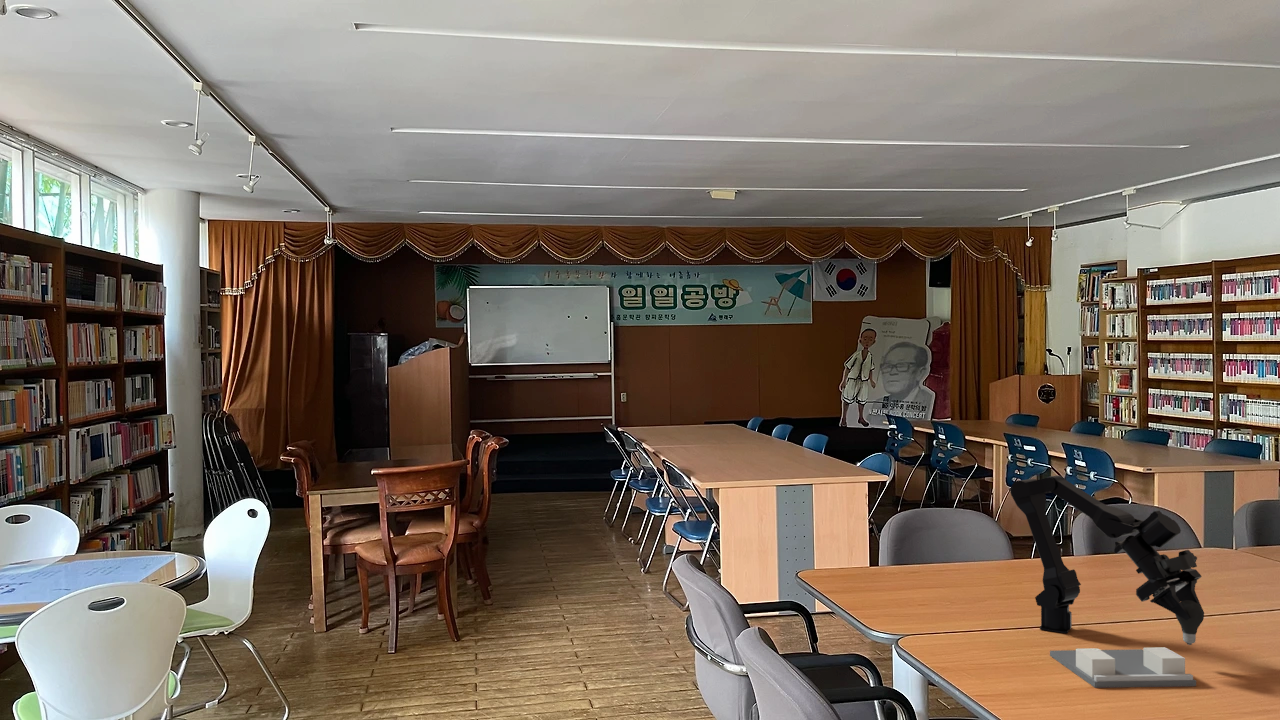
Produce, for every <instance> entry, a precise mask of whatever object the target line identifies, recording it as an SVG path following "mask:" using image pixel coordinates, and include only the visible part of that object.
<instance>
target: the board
mask: <svg viewBox="0 0 1280 720" xmlns="http://www.w3.org/2000/svg"><path fill="white" fill-rule="evenodd" d="M1049 656H1050V657H1051V658H1052V659H1054V660H1055V661H1057V662H1059V664H1061V665H1062V666H1064V667H1065V668H1066V669H1067V670H1069V671H1071V673H1074V674H1075V675H1077V676H1078V677H1079V678H1081V679H1082V680H1083V681H1085V682H1086V683H1088V684H1089V685H1090V684H1091V685H1090V686H1092V687H1093V688H1095V689H1097V688H1099V689H1100V688H1150V687H1151V688H1152V687H1153V688H1154V687H1155V688H1158V687H1159V688H1161V687H1162V688H1163V687H1164V688H1165V687H1166V688H1167V687H1197V680H1196V679H1194V675H1193V674H1191V673H1186V658H1185V657H1184V656H1182V655H1180V654H1178V652H1174V651H1173V650H1170V648H1167V647H1164V646H1163V647H1143V648H1141V649H1136V648H1135V649H1133V648H1132V649H1131V648H1130V649H1099V648H1098V647H1097V648H1094V647H1092V648H1090V647H1089V648H1075V650H1073V649H1071V650H1068V649H1067V650H1065V649H1062V650H1059V649H1058V650H1049Z"/></svg>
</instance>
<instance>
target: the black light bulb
mask: <svg viewBox="0 0 1280 720" xmlns="http://www.w3.org/2000/svg"><path fill="white" fill-rule="evenodd" d="M1181 603H1182V605H1183V606H1184V608H1185V609H1186V611H1187V612H1188V614H1189V615H1190V617H1191V618H1190V619H1189V620H1185V619H1183V618H1182V617H1180V616H1178V615H1176V614H1175V617H1176V620H1177V621H1178V623H1179V625H1180V628H1181V632H1182V639H1183V642H1185V644H1187V645H1188V646H1192V645H1193V644H1195V643H1196V642H1197V641H1196V636H1197V635H1196V634H1197V633H1198V629H1199V627H1200V626H1201V624H1202V623H1203V621H1204V618H1205V612H1203V611H1204V609H1203V607H1202V605H1201V606H1200V605H1199V604H1197V603H1196V602H1194V601H1190V600H1185V601H1182V602H1181ZM1201 607H1202V608H1201Z"/></svg>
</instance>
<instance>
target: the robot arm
mask: <svg viewBox="0 0 1280 720" xmlns="http://www.w3.org/2000/svg"><path fill="white" fill-rule="evenodd" d="M1009 490H1010V492H1009V493H1010V495H1011V497H1012V499H1013V501H1014V504H1015V505H1016V507H1017V508H1019V510H1020V511H1021V512H1022V513H1023V514H1024V515H1025V517H1026V520H1027V523H1028V526H1029V529H1030V532H1031V534H1032V538H1033V541H1034V543H1035V546H1036V549H1037V552H1038V555H1039V558H1040V561H1041V563H1042V567H1043V573H1042V586H1043V590H1042V591H1041V592H1040V593H1039V594H1037V595H1036V596H1035V597H1034V598H1035V602H1036V606H1038V607H1040V622H1041V623H1040V627H1039V630H1042V631H1048V632H1054V633H1059V634H1068V633H1069V631H1070V630H1071V629H1072V625H1073V623H1072V618H1073V617H1072V615H1073V614H1072V613H1073V612H1072V611H1070V605H1074V602H1075V599H1077V597H1079V595H1080V593H1081V588H1080V586H1081V585H1082V583H1081V582H1080V581H1079V579H1078V575H1077V572H1076V570H1075V568H1074V569H1069V568H1068V567H1067V566H1066V565H1065V564H1064V561H1063V559H1062V556H1061V553H1060V550H1059V547H1058V545H1057V542H1056V539H1055V536H1054V533H1053V530H1052V527H1051V525H1050V522H1049V521H1050V520H1049V519H1048V515H1047V513H1046V504H1047V503H1046V502H1047V496H1046V494H1051V493H1053V494H1054V495H1055V496H1057V497H1059V498H1060V499H1061V500H1063V501H1064V502H1066V503H1068V504H1069V505H1070V506H1072V507H1073V508H1075V509H1076V510H1078V511H1079V512H1081V513H1083V514H1084V515H1085V516H1087V517H1088V518H1090V519H1091V520H1092V522H1093V524H1094V525H1095V527H1096V528H1097V529H1099V531H1101V532H1102V533H1103V535H1105V536H1106V537H1109V538H1111V539H1117V538H1121V537H1126V538H1124V539H1123V540H1117V541H1114V544H1115V546H1114V551H1113V553H1114V554H1119V553H1124V552H1125V554H1126V555H1127V556H1128V558H1130V559H1131V562H1133V563H1134V564H1135V566H1136V567H1137V568H1136V570H1135V571H1136V573H1137V574H1138V575H1139V574H1142V575H1144V577H1145V578H1146V579H1147V581H1145V582H1144V583H1143V584H1141V585H1139V586H1138V587H1137V588H1136V589H1135V595H1136V597H1137V598H1138V599H1139V601H1141V603H1142V602H1146V601H1148V600H1149V602H1150V603H1153V604H1155V605H1158V606H1160V607H1162V608H1163V609H1165V610H1168V611H1169V612H1171V613H1173V614H1176V615H1178V616H1180V617H1182V618H1183V619H1185V620H1189V619H1190V618H1191V617H1190V615H1189V614H1188V612H1187V611H1186V609H1185V608H1184V606H1183V605H1182V603H1181V602H1182V601H1185V600H1190V601H1194V602H1196V603H1197V604H1199V605H1200V606H1201V608H1202V609H1203V607H1202V604H1201V603H1200V600H1199V597H1198V596H1197V593H1196V592H1197V591H1196V584H1197V583H1198V580H1199V579H1201V578H1202V575H1201V574H1200V572H1198V570H1197V569H1194V568H1197V567H1198V565H1197V563H1196V562H1197V560H1198V556H1196V555H1194V553H1193V552H1191V551H1190V550H1189V549H1186V550H1182V551H1179V552H1178V556H1174V557H1170V558H1169V556H1168V555H1167V554H1164V553H1163V554H1160V553H1159V552H1158V551H1157V550H1156V548H1163V547H1164V546H1166V545H1167V544H1168V543H1169V542H1171V540H1173V539H1174V538H1176V537H1177V536H1178V535H1179V534H1181V531H1182V530H1181V528H1180V526H1179V524H1178V523H1177V522H1176V520H1174V519H1172V518H1171V517H1170V516H1168V515H1167V514H1164V513H1162V512H1161V511H1160V510H1153V512H1152V513H1150V515H1149V516H1148V517H1147V518H1145V519H1144V520H1141V519H1137V518H1135V517H1134V516H1133V515H1132V514H1131V513H1130V512H1127V511H1125V510H1122V509H1121V508H1118V507H1115V506H1111V505H1107V504H1105V503H1103V502H1101V501H1099V500H1098V499H1096V498H1094V496H1092V495H1090V494H1089V493H1087V492H1085V491H1083V490H1082V489H1081V488H1079V487H1077V486H1076V485H1074V484H1073V483H1071V482H1070V481H1068V480H1067V479H1066V478H1065V477H1064V476H1062V475H1059V474H1058V475H1050V476H1047V477H1046V478H1042V479H1040V478H1039V479H1036V478H1028V479H1022V480H1016V481H1014V482H1013V483H1012V484H1011V487H1010V488H1009ZM1134 533H1137V534H1136V535H1132V534H1134ZM1155 547H1156V548H1155ZM1151 596H1152V597H1153V598H1152V599H1151V598H1150V597H1151ZM1150 599H1151V600H1150ZM1203 612H1204V610H1203ZM1204 613H1205V612H1204ZM1176 615H1175V616H1176Z"/></svg>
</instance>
